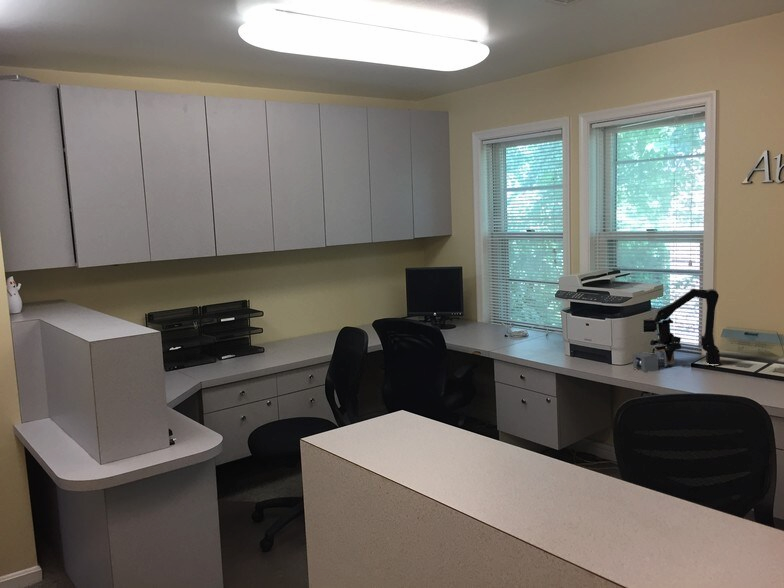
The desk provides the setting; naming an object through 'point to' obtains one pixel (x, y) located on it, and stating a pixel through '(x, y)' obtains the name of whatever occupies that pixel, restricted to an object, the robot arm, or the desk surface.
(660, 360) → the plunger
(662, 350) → the pusher block
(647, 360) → the gauge frame
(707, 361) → the robot arm
